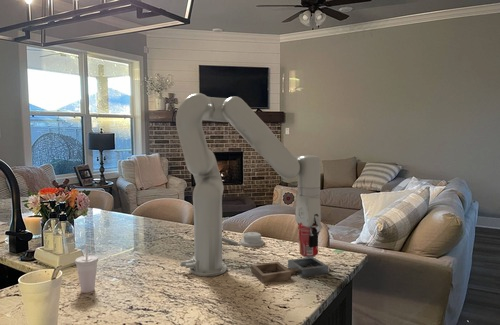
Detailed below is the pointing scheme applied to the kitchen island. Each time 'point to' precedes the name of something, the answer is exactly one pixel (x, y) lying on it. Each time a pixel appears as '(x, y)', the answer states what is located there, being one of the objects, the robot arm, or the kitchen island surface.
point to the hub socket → (297, 264)
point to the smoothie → (87, 271)
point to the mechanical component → (252, 239)
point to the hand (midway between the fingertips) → (308, 243)
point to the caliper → (230, 241)
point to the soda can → (306, 242)
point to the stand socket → (270, 277)
